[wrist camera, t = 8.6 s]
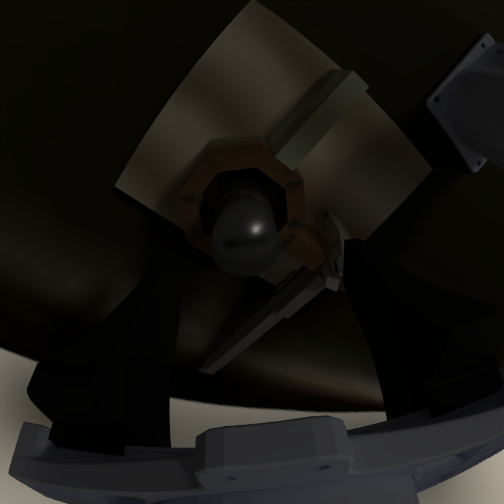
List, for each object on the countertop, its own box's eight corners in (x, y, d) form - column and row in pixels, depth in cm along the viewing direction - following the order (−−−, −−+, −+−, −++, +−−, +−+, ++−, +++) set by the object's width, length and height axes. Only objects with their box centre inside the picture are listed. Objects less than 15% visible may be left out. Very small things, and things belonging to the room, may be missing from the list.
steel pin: (262, 159, 20) (279, 214, 13) (265, 202, 22) (281, 273, 15) (215, 164, 20) (205, 221, 13) (220, 206, 22) (216, 279, 15)
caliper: (324, 206, 22) (353, 254, 17) (336, 213, 23) (366, 262, 18) (198, 367, 31) (196, 419, 26) (208, 370, 32) (206, 422, 26)
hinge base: (251, 2, 15) (257, -18, 11) (426, 165, 21) (462, 190, 17) (119, 180, 21) (93, 211, 17) (298, 293, 27) (309, 336, 23)
